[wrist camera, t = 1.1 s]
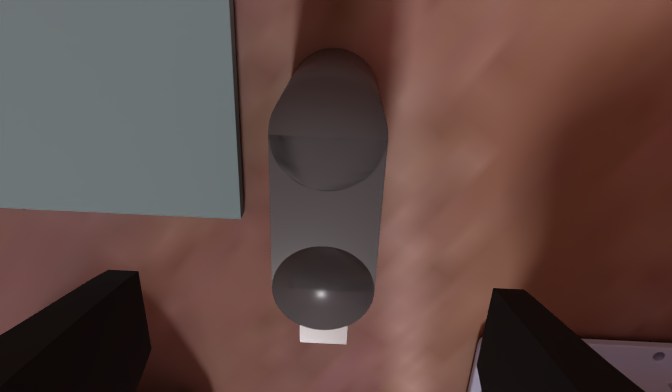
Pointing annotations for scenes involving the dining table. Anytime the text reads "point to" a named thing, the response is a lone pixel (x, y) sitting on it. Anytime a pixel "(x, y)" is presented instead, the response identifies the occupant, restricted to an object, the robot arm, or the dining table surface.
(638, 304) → the dining table surface
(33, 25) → the rubber mat
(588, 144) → the dining table surface
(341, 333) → the connector plug
